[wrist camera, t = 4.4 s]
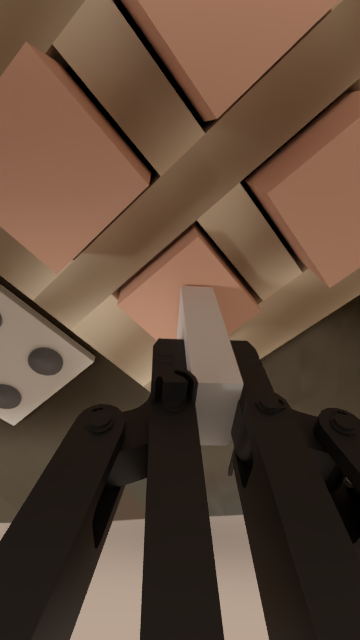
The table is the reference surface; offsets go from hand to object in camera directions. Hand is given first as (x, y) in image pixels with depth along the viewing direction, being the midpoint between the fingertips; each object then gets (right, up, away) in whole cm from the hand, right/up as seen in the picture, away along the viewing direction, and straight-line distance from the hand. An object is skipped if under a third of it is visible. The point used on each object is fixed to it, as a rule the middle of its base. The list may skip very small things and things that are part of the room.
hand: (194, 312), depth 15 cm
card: (-13, -3, +6) cm, 14 cm away
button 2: (0, +2, +3) cm, 4 cm away
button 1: (-5, +6, -1) cm, 8 cm away
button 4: (+6, +6, 0) cm, 8 cm away
